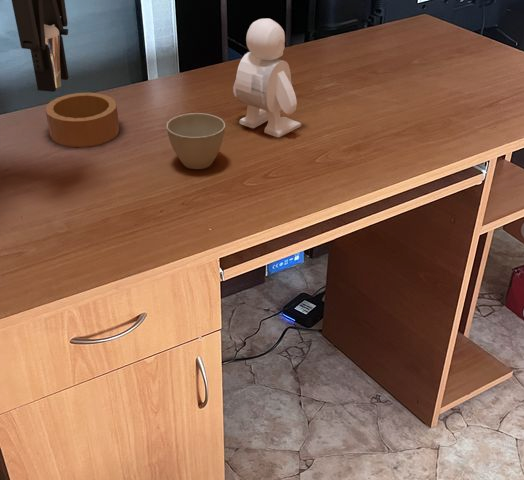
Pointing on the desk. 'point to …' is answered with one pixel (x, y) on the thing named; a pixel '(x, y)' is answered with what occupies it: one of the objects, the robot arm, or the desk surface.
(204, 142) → the flower pot
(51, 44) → the milkshake
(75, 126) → the tape
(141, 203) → the desk surface
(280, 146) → the desk surface
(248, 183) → the desk surface
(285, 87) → the toy robot
